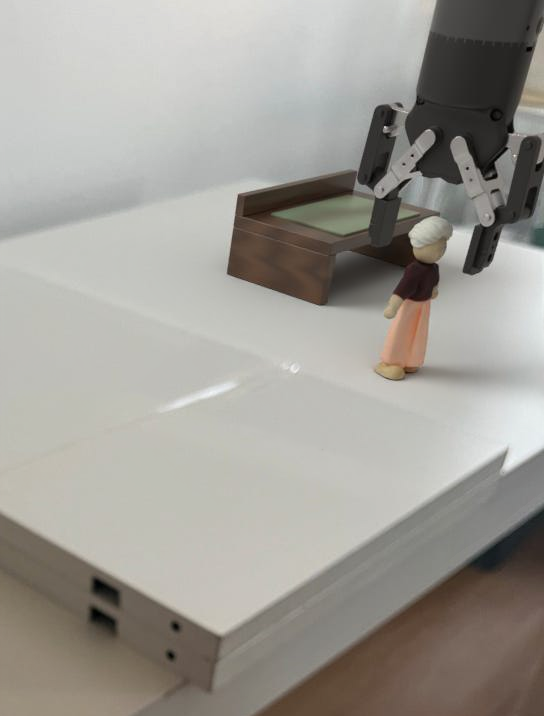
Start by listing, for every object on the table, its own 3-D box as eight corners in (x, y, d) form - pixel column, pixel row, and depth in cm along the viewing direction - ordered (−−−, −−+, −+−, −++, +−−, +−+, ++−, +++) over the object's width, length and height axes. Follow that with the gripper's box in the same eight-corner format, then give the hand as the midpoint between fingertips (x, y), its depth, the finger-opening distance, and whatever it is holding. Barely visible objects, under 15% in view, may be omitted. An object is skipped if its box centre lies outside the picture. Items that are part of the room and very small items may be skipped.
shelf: (426, 269, 113) (446, 192, 109) (320, 305, 102) (336, 221, 97) (335, 242, 120) (350, 169, 115) (226, 273, 109) (237, 193, 104)
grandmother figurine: (406, 388, 86) (447, 231, 78) (362, 376, 88) (398, 221, 80) (433, 361, 91) (474, 211, 84) (391, 350, 93) (428, 202, 85)
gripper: (371, 18, 76) (326, 244, 86) (554, 46, 68) (481, 292, 78) (425, 15, 80) (376, 230, 90) (603, 40, 72) (528, 274, 82)
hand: (425, 258), depth 84 cm, fingers open, 8 cm apart
